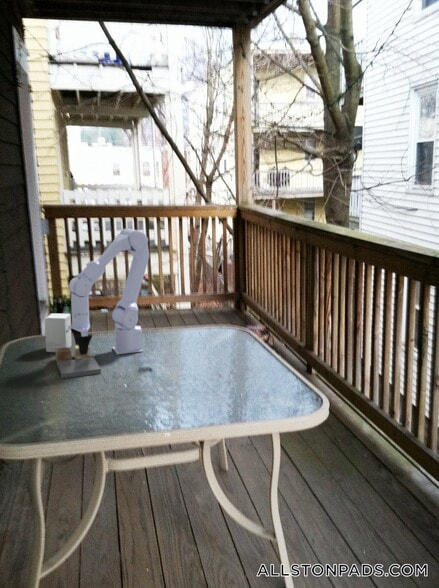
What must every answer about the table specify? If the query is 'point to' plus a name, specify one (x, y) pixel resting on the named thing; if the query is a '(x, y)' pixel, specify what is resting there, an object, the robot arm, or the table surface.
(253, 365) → the table surface
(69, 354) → the walnut block
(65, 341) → the supplement box
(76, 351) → the maple block
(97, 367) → the plate
